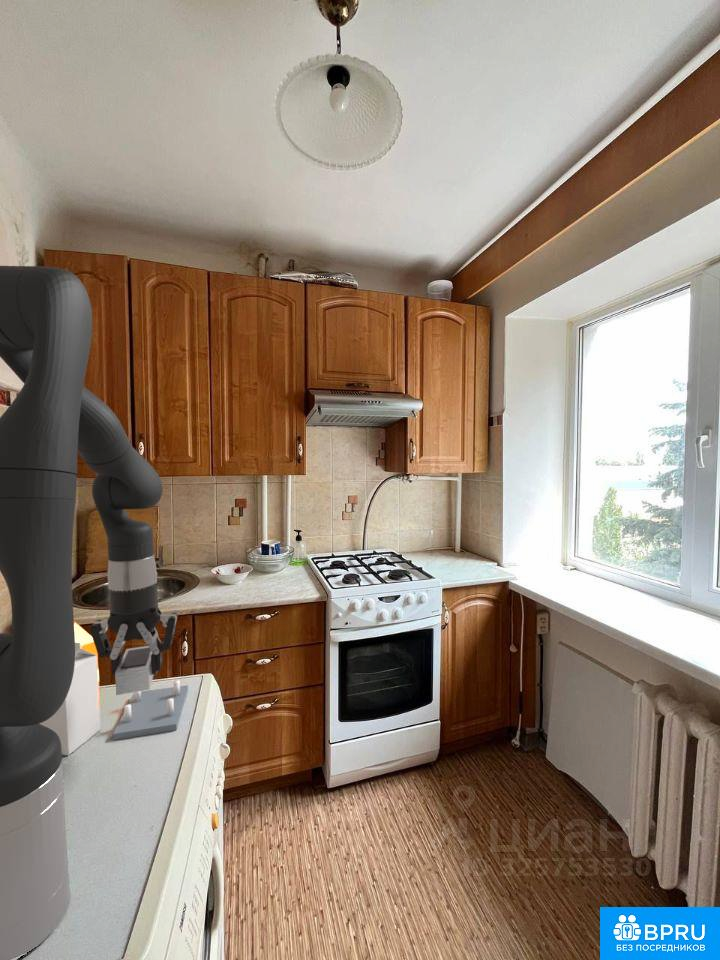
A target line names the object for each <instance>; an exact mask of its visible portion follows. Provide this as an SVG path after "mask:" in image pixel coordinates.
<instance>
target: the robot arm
mask: <svg viewBox="0 0 720 960" xmlns="http://www.w3.org/2000/svg"><path fill="white" fill-rule="evenodd" d="M88 294H89V293H88V292H87V289H86V287H85V285H84V284H83V283H82V281H81V279H80V278H78V276H77V275H75V274H74V273H73V272H71V271H70V270H67V269H65V268H60V267H54V266H53V267H52V266H44V265H43V266H42V265H41V266H39V265H36V266H35V265H0V358H1V360H2V361H3V362H4V363H5V364H6V365H7V366H8V367H9V368H10V370H12V372H13V373H14V374H15V375H16V376H17V377H18V379H19V380H20V381H21V382H22V383H23V386H22V387H21V389H20V391H19V393H18V394H17V395H16V397H15V398H14V400H13V401H12V402H11V404H10V405H9V406H8V407H7V408H6V410H5V411H4V412H3V413H2V415H0V574H1V575H2V577H3V579H4V582H5V584H6V586H7V589H8V593H9V598H10V604H11V633H10V632H9V633H7V632H4V633H3V632H0V960H11V959H13V958H16V957H18V956H20V955H22V954H25V953H27V952H28V951H31V950H32V949H33V950H35V949H34V948H35V947H36V948H37V947H39V945H40V944H42V943H43V942H44V941H45V940H46V939H47V938H48V937H49V936H50V935H51V934H52V933H53V932H54V930H55V929H56V927H58V925H59V923H60V922H61V921H62V920H63V917H64V916H65V914H66V912H67V910H68V906H69V904H70V899H71V898H70V895H71V894H70V884H71V883H70V873H69V858H68V843H67V841H68V840H67V838H68V837H67V826H66V825H67V824H66V807H65V805H66V804H65V792H64V791H65V790H64V789H65V788H64V772H63V769H64V768H63V755H62V751H61V742H60V738H59V736H58V735H57V734H56V733H55V732H54V731H53V730H51V729H49V728H47V727H45V726H43V725H41V724H39V723H42V722H44V721H46V720H48V719H49V718H51V717H52V716H53V715H54V714H55V713H56V712H57V711H58V709H59V708H60V707H61V706H62V704H63V702H64V700H65V699H66V697H67V694H68V692H69V689H70V686H71V683H72V678H73V673H74V665H75V633H74V619H75V618H74V603H73V602H74V601H73V582H72V580H73V579H72V578H73V577H72V576H73V574H72V573H73V569H72V568H73V541H74V540H73V539H74V522H75V512H76V511H75V510H76V500H77V486H78V485H77V484H78V483H77V482H78V476H77V475H78V454H79V456H80V457H81V460H83V462H84V464H85V465H86V466H87V467H88V469H89V470H90V471H92V472H94V473H95V474H96V476H95V478H94V480H93V482H92V485H91V495H92V499H93V501H94V502H93V503H94V505H95V508H96V511H97V512H98V514H99V518H100V520H101V524H102V526H103V529H104V532H105V534H106V538H107V555H108V558H107V559H108V564H107V565H108V566H107V583H108V584H107V587H108V600H109V602H108V603H109V612H110V613H109V616H108V618H107V619H104V620H101V619H97V620H96V621H95V622H94V623H93V624H91V626H90V627H89V632H90V635H91V636H92V638H93V641H94V644H95V647H96V650H97V653H98V657H99V658H109V659H110V664H111V676H113V677H115V672H116V670H117V668H118V666H119V664H120V662H121V660H122V658H123V655H124V653H122V651H123V649H124V645H125V643H126V642H127V641H128V642H129V641H132V640H134V639H135V640H144V643H145V645H146V646H149V648H150V650H151V651H152V655H151V661H152V675H157V674H158V672H159V671H161V668H162V666H163V653H162V652H163V651H169V650H170V648H171V646H172V643H173V641H174V636H175V631H176V625H177V622H178V613H176V612H172V613H171V614H169V613H167V614H166V613H162V611H161V610H160V608H159V595H158V593H159V592H158V572H157V564H156V559H155V558H156V557H155V549H154V548H155V546H154V545H155V544H154V531H153V527H152V525H151V524H150V523H148V522H145V521H140V520H136V519H133V518H131V517H130V516H129V514H128V513H127V511H126V510H145V509H151V508H153V507H155V506H157V505H158V503H159V502H160V500H161V498H162V497H163V483H162V480H161V477H160V476H159V474H158V472H157V471H156V469H155V468H154V466H152V465H151V464H150V462H149V461H147V459H145V458H144V457H143V455H141V454H140V452H139V451H138V450H137V449H136V448H134V447H133V445H132V444H131V441H130V439H129V437H128V435H127V433H126V431H125V430H124V427H123V425H122V424H121V421H120V420H119V418H118V417H117V415H116V414H115V412H114V411H113V410H112V409H111V408H110V407H109V406H108V405H107V403H105V402H104V401H103V400H101V398H99V397H98V396H96V395H95V394H94V393H93V392H91V391H90V390H89V389H88V388H87V387H85V386H84V384H85V379H86V378H85V377H86V372H87V366H88V363H89V362H88V361H89V355H90V352H91V351H90V350H91V343H92V336H93V334H92V333H93V311H92V310H93V309H92V305H91V300H90V298H89V295H88ZM159 622H162V627H164V628H166V629H165V634H164V638H163V641H161V639H160V637H159V632H158V630H157V629H156V626H157V625H158V623H159ZM108 628H110V629H111V630H112V631H113V632H114V633H115V634H116V637H115V640H114V643H113V646H111V644H110V641H109V639H108V635H107V631H108ZM33 950H32V951H33ZM32 951H31V952H32Z"/></svg>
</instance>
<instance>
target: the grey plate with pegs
mask: <svg viewBox="0 0 720 960" xmlns="http://www.w3.org/2000/svg"><path fill="white" fill-rule="evenodd" d="M180 684H181V680H180V679H177V680H174V681H173V686H171V687H165V688H157V689H151V690H150V689H149V690H143V691H138V692H133V694H132V696H131V698H130V700H129V702H128V704H125V705H124V706H123V713H122V715H121V717H120V719H119V720H118V723H117V725H116V727H115V729H114V731H113V733H112V740H113V741H117V740H122V739H128V738H134V737H141V736H142V737H143V736H148V735H154V734H160V733H167V732H172V731H177V730H178V727H179V723H180V721H181V717H182V712H183V709H184V707H185V703H186V698H187V696H188V692H189V685H188V684H186V685H180Z"/></svg>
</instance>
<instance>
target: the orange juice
mask: <svg viewBox="0 0 720 960" xmlns="http://www.w3.org/2000/svg"><path fill="white" fill-rule="evenodd" d="M74 633H75V642H78V643H81V645H82V648H81V649H83V650H86V651H88V652H90V653H93V654H95V655H97V669H98V688H99V689H100V670H99V658H98V657H99V656H98V653H97V650H96V647H95V644H94V641H93V638H92V635H91V634H90V633H88V632H87V631H86V630H85V629H84V628H83V627H82V626H81V625H79V623H77V622H76V621H74ZM100 697H101V695H100V691H99V707H100V708H101V698H100Z"/></svg>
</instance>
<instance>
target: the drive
mask: <svg viewBox="0 0 720 960" xmlns="http://www.w3.org/2000/svg"><path fill="white" fill-rule="evenodd" d="M151 655H152V651H151V650H150V648H149V646H148V645H144V646H138V647H131V648H126V649H125V652H124V653H123V658H122V660H121V662H120V664H119V666H118V668H117V670H116V672H115V676H114V679H115V681H114V682H115V695H116V696H120V695H125V694H131V693H134V692H138V691H149V690H150V689H151V685H152V682H153V680H154V679H153V678H154V675H152V661H151Z"/></svg>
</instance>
